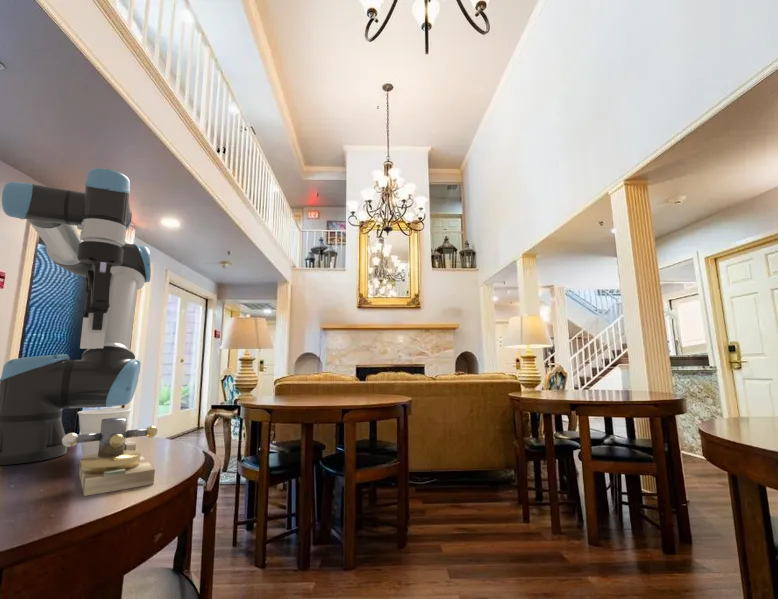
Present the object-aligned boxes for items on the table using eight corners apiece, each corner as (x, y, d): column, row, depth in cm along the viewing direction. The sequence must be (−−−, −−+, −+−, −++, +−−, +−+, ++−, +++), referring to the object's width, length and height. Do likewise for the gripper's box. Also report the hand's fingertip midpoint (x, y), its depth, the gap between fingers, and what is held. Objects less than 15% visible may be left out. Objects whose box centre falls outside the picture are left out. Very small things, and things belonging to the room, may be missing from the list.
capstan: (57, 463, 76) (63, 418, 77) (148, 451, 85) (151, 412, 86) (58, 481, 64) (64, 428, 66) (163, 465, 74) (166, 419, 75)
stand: (78, 472, 79) (81, 447, 80) (137, 464, 86) (139, 440, 86) (84, 496, 66) (87, 464, 66) (153, 484, 72) (155, 455, 73)
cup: (98, 469, 82) (104, 413, 84) (59, 466, 84) (65, 412, 86) (137, 457, 92) (141, 408, 93) (101, 455, 94) (106, 407, 95)
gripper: (75, 252, 89) (64, 348, 86) (84, 226, 70) (70, 347, 68) (115, 258, 94) (106, 349, 91) (133, 234, 75) (122, 348, 72)
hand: (90, 348), depth 79 cm, fingers open, 13 cm apart
